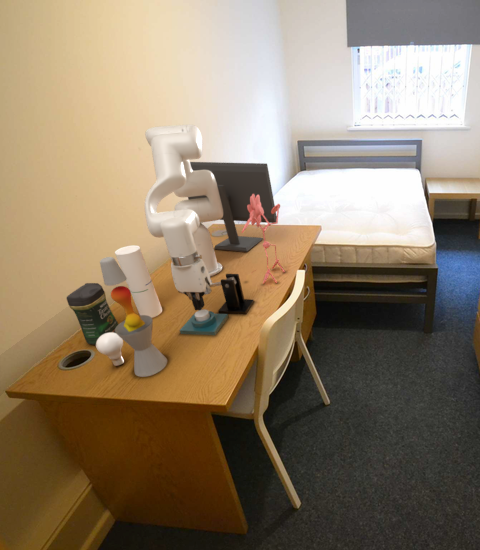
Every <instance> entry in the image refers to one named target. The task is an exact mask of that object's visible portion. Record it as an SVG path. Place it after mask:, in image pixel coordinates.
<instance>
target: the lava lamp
mask: <svg viewBox="0 0 480 550" xmlns="http://www.w3.org/2000/svg"><path fill="white" fill-rule="evenodd" d="M116 260H117V259H115V257H114V256H106V257H103V258H101V259H100V261H99V265H100V270H101V274H102V279H103V284H104V285H105V286H108V287H110V286H115V287H114V288H113V289H112V290H111V292H110V297H111V300H112V301H115V302H116V303H117V304H118V305H120V306H121V307H123V310H124V312H125V319H124V320H122V321H121V322H119V323H118V326H117V327H116V328H115V332H116V334H117V335H118V336H119V337H121V338H122V339H123V342H125V343H126V344H127V345H128V346H129V347H131V348H132V349H133V350H134V352H133V354H134V356H133V359H134V360H133V361H134V362H133V363H134V364H133V365H134V366H133V367H134V368H133V369H134V370H133V372H134V374H135V376H137V377H141V378H142V377H143V378H144V377H151V376H153V375H156V374H158V373H160V372H161V371H162V370H164V369H165V367H166V366H167V364H168V359H167V357H166V356H165V355H164V354H163V353H162V352H161V351H160V350H159V349H158V348H157V347H156V345H154V344H153V343H152V337H153V324H154V323H153V322H154V321H153V320H154V319H153V318H151V317H150V316H146V315H140V314H139V313H136V312H135V311H134V307H133V305H132V295H131V292H130V290H129V287H128V286H125V285H120V284H122V283H124V282H126V279H127V278H126V276H125V274H124V273H123V271H122V270H121V267H120V265H119V262H118V261H116ZM116 285H117V286H116ZM118 285H119V286H118Z"/></svg>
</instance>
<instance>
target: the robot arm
mask: <svg viewBox="0 0 480 550" xmlns="http://www.w3.org/2000/svg"><path fill="white" fill-rule="evenodd" d="M144 135H145V139H146V141H147V144H148V145H149V146H150V148H151V155H152V161H153V167H154V172H155V178H156V180H155V182H154V183H153V184H152V186H151V187H150V188H149V190H148V191H147V193H146V195H145V199H144V202H143V203H144V205H143V206H144V214H145V220H146V226H147V229H148V231H149V234H150V235H151V236H152V237H155V238H163V239H164V242H165V245H166V248H167V251H168V254H169V258H170V261H171V263H170V270H171V276H172V281H173V284H174V287H175V289H176V291H177V293H179V294H181V295H185V296H186V297H188V299H189V300H190V301H191V302H192V306H193V308H194V311H199V310H203V308H204V307H205V304H206V303H205V300H204V296H205V295H209V294H211V293H212V287H209V286H211V285H212V283H213V281H212V282H211V280H212V279H211V277H213V276H215V275H218V274H219V273H220V272H221V271H222V270H223V265H222V264H221V263H220V262H218V261H217V260H218V259H217V256H216V252H215V249H214V244H213V240H212V237H211V232H210V230H209V229H208V228H207V227H206V226H205V225H204V224H203V223H207V222H215V221H221V220H220V219H221V218H222V217H223V208H222V203H221V199H220V195H219V191H218V187H217V183H216V179H215V177H214V175H213V173H212V172H211V171H209V170H196V171H193V170H192V168H191V164H190V162H191V161H190V160H199V159H200V158H201V157H202V155H203V135H202V133H201V130H200V129H199V127H198V126H197V125H195V124H178V125H177V124H176V125H159V126H152V127H150V128H149V127H148V128H147V129H146V131H145V133H144ZM173 193H174V195H175V196H176V197H178V198H188V197H194V196H202V195H205V196H207V197H206V198H198V199H183V200H180V201H178V202H177V203H175V205H174V210H168V211H161V212H158V206H159V204H160V202H161V201H163V200H164V198H166V197H167V196H169V195H171V194H173Z"/></svg>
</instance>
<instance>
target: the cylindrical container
mask: <svg viewBox="0 0 480 550" xmlns="http://www.w3.org/2000/svg"><path fill="white" fill-rule="evenodd" d="M114 255H115V258H116V260H117V263H118V265H119V267H120V268H121V270H122V271H123V273H124V274H125V276H126V278H127V279H126V280H125V283H126V285H127V288H128V289H129V290H130V292H131V298H132V300H133V302H134V305H135V307H136V309H137V312H138V315H146V316H150V317H151V318H152V319H153V318H156V317H158V316H159V315H160V314H162V312H163V307H162V305H161V302H160V299H159V296H158V293H157V290H156V288H155V285H154V283H153V280H152V277H151V274H150V272H149V269H148V266H147V264H146V261H145V258H144V255H143V252H142V249H141V247H140V246H139V245H137V244H135V245H126V246H122V247H119V248H118V249H116V250H115V251H114Z"/></svg>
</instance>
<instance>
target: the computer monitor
mask: <svg viewBox="0 0 480 550" xmlns="http://www.w3.org/2000/svg"><path fill="white" fill-rule="evenodd" d="M190 164H191V168H192V170H193V171H196V170H209V171H211V172H212V173H213V175H214V177H215V179H216V183H217V187H218V191H219V195H220V199H221V203H222V208H223V217H222V218H221V219H220V220H219V221H223V223H224V227H225V231H226V234H227V238H225V239H224V240H222V241H220V242H219V243H216V244H214V245H215V246H213V248H214V250H216V251H227V252H240V253H247V252H249V251H251V249H253V248H254V247H255V246H256V245H257V244H259V243H260V242H261V241H262V240H264V237H259V236H258V237H256V236H242V235H238V231H237V227H236V222H247V221H248V220H249V218H250V213H249V211H248V209H247V205H251V204H250V197H251V196H252V194H254V195H255V198H256V196H257V195H259V196H260V203H261V207H262V208H263V210H264V214H263V215H264V216H265V218H266V219H267V221H268V222H269V223H276V220H277V211H276V212H275V213H274V214H272V213H271V210H272V209H273V208H274V207H275V206H276V205H275V200H274V194H273V189H272V184H271V177H270V171H269V166H268V163H265V162H264V163H262V162H261V163H260V162H259V163H255V162H216V161H215V162H213V161H211V162H209V161H190ZM206 197H207V196H205V195H202V196H194V197H187V200H189V199H198V198H206ZM261 223H267V222H266V220H265V219H264V217H263V216H262V215H261ZM267 224H268V223H267ZM277 224H279V221H278V222H277Z"/></svg>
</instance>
